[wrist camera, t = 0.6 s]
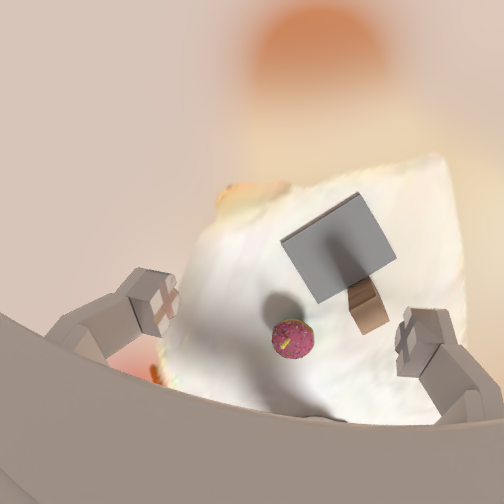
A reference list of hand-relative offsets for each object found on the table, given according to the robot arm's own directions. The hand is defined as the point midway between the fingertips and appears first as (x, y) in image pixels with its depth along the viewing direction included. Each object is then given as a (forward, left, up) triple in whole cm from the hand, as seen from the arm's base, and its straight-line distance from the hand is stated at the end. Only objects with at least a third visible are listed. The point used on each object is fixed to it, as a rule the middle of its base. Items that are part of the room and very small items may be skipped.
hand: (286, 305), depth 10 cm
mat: (-6, +1, -48) cm, 49 cm away
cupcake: (-16, +17, -49) cm, 54 cm away
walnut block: (-16, +1, -48) cm, 51 cm away
